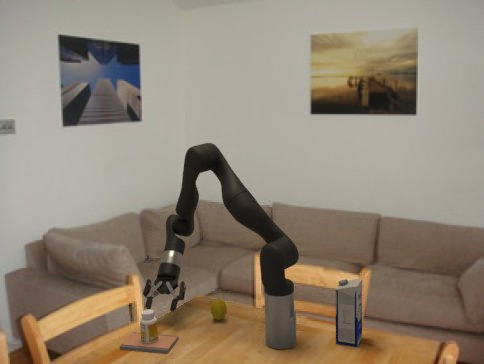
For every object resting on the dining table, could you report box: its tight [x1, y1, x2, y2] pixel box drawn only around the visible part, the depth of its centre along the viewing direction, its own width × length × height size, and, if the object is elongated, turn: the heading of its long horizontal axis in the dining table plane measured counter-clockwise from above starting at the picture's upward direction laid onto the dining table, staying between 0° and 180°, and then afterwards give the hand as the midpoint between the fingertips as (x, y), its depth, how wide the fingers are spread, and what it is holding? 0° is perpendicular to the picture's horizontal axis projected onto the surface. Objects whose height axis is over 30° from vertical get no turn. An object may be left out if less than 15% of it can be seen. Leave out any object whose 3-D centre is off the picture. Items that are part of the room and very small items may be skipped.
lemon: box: [210, 298, 228, 321], centre depth 192 cm, size 6×6×8 cm
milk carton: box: [334, 278, 363, 348], centre depth 172 cm, size 7×7×20 cm
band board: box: [119, 332, 180, 354], centre depth 177 cm, size 16×10×1 cm, turn 76°
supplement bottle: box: [139, 308, 159, 344], centre depth 176 cm, size 5×5×10 cm
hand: (159, 310), depth 185 cm, fingers open, 8 cm apart
